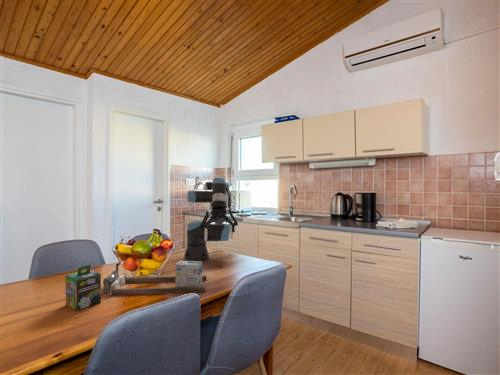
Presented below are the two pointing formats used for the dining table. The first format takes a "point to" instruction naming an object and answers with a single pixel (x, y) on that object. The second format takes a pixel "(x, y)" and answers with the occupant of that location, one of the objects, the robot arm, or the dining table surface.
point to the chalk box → (83, 288)
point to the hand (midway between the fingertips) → (218, 239)
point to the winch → (111, 279)
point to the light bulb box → (188, 274)
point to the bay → (123, 279)
